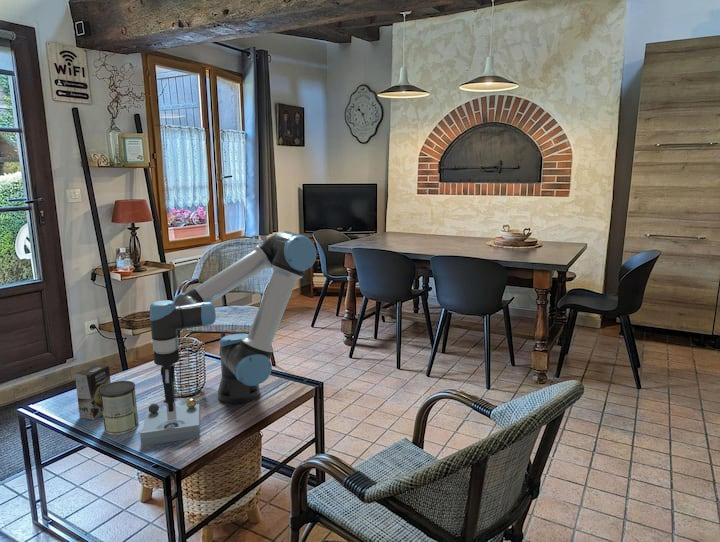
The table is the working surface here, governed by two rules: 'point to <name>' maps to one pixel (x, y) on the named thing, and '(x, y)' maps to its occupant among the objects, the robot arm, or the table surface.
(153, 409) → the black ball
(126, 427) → the coffee can
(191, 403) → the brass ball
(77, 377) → the coffee box
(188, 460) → the table surface
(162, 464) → the table surface
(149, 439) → the board
